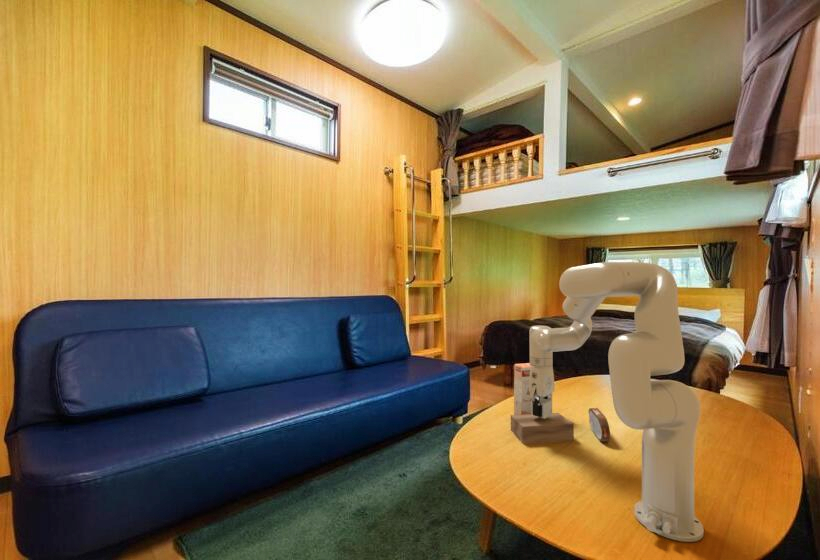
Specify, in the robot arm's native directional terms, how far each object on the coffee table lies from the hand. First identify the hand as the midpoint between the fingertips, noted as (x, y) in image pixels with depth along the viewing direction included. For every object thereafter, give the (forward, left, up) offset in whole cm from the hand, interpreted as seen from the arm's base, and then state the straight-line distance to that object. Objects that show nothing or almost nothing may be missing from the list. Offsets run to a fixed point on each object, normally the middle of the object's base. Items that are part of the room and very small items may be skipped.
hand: (541, 413), depth 123 cm
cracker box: (+14, +10, -8) cm, 19 cm away
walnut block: (0, 0, -8) cm, 8 cm away
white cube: (0, 0, -1) cm, 1 cm away
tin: (+14, -14, -8) cm, 21 cm away
